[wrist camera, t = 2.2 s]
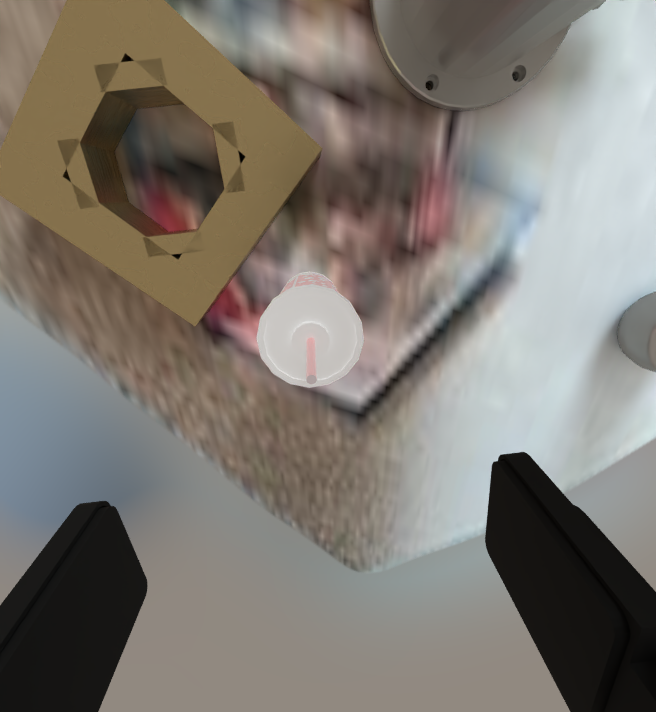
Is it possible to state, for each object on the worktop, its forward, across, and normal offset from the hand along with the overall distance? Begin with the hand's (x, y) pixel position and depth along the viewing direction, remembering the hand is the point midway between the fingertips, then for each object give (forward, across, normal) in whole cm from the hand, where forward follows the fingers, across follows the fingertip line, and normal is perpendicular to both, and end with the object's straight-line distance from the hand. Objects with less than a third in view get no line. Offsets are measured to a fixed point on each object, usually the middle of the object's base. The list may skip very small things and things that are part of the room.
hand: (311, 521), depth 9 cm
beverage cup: (+22, 0, 0) cm, 22 cm away
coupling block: (+22, +8, -10) cm, 25 cm away
